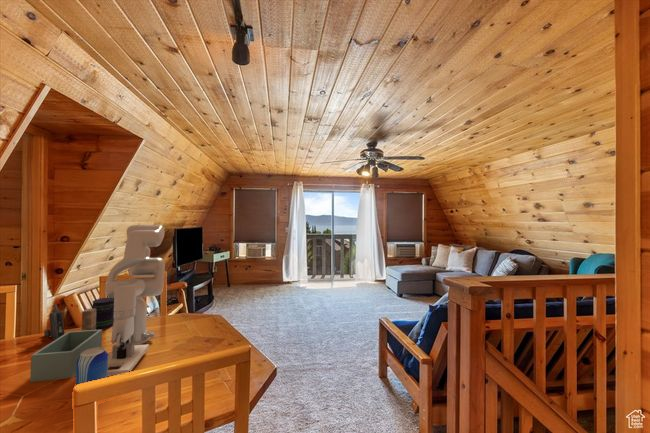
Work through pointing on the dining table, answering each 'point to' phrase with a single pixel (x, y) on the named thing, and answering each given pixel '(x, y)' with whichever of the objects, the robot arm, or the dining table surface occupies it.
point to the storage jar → (104, 312)
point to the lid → (131, 358)
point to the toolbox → (63, 355)
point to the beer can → (92, 365)
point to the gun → (55, 324)
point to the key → (89, 319)
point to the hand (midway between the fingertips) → (123, 355)
